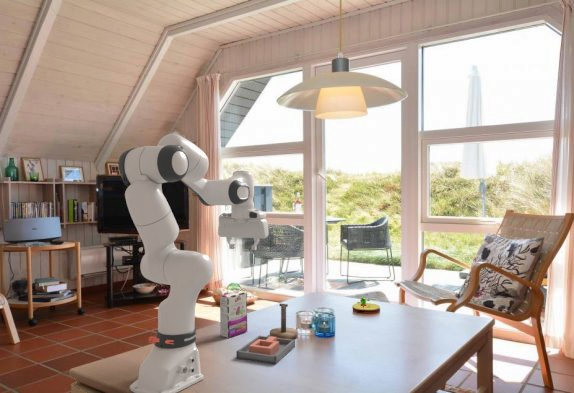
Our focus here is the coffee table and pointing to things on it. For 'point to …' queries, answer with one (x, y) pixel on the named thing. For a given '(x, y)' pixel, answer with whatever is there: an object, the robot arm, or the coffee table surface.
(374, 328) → the coffee table surface
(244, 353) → the tray
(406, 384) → the coffee table surface
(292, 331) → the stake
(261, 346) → the orange hollow block
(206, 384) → the coffee table surface
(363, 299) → the toy character
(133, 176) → the robot arm
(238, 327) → the candy bar box
